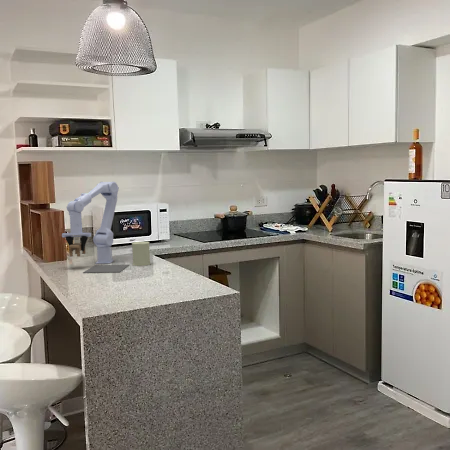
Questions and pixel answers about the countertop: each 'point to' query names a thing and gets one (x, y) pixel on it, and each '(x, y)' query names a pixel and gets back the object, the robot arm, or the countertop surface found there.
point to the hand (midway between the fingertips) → (77, 251)
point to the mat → (106, 269)
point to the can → (141, 253)
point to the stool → (75, 247)
